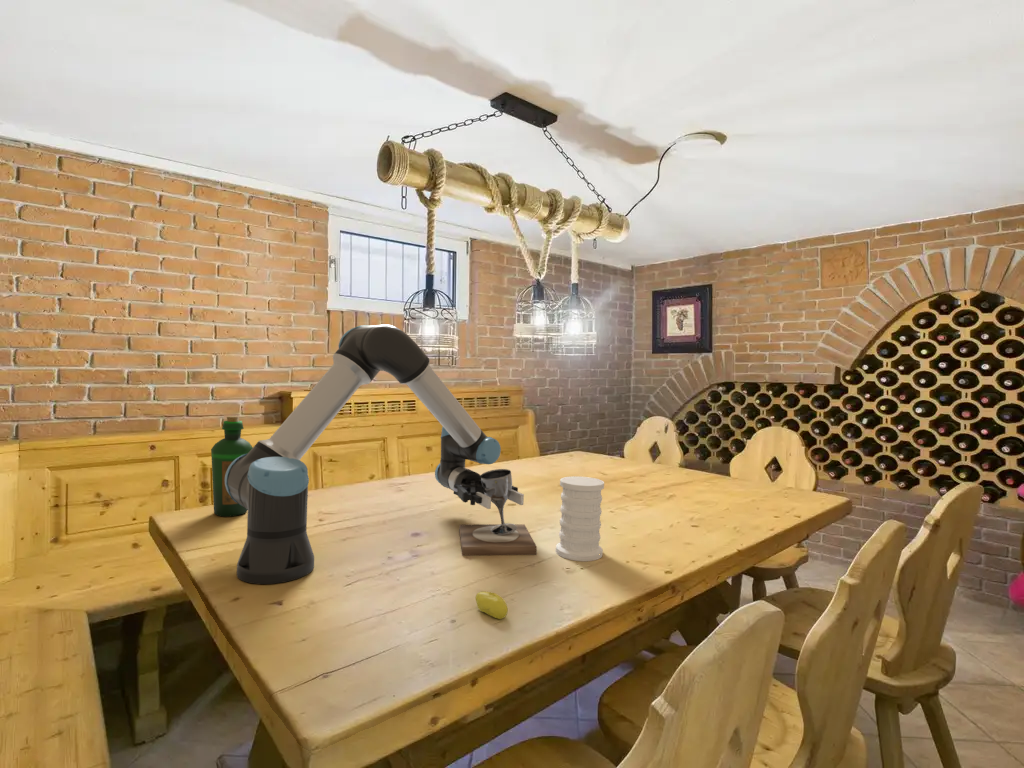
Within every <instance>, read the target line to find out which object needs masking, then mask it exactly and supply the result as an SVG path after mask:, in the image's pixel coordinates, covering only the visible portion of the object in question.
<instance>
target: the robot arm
mask: <svg viewBox="0 0 1024 768" xmlns="http://www.w3.org/2000/svg"><path fill="white" fill-rule="evenodd" d="M332 361H333V364H332V365H331V367H330V368H329V369H328V370H327V371H326V372H325V374H323V376H322V377H321V378H320V380H319V381H317V383H315V385H314V386H313V387H312V388H311V390H310V391H309V392H308V394H306V395H305V397H304V398H303V399H302V400H301V402H300V403H298V405H297V406H296V407H295V408H294V410H293V411H292V412H291V413H290V414H289V415H288V417H287V418H286V419H285V420H284V421H283V422H282V424H281V425H280V426H279V427H278V428H277V430H275V432H274V433H273V434H272V435H271V436H270V437H269V438H267V439H262V440H258V441H257V442H256V443H255V444H254V446H252V447H253V448H252V449H251V450H250V452H249V453H247V454H244V455H242V456H240V457H238V458H236V459H235V460H234V461H233V462H232V463H231V464H230V466H229V467H228V469H227V471H226V474H225V487H226V490H227V492H228V493H229V495H230V496H231V498H232V499H233V500H234V501H235V502H237V503H238V504H240V505H242V506H243V507H245V508H246V509H248V510H247V517H246V518H247V523H246V526H247V528H246V539H245V541H244V544H243V548H242V550H241V553H240V556H239V557H238V560H237V564H236V577H237V579H239V580H240V581H243V582H246V583H248V584H249V583H250V584H255V585H256V584H258V585H269V584H280V583H286V582H290V581H294V580H297V579H300V578H303V577H304V576H306V575H309V574H310V573H311V572H312V571H314V568H315V555H314V552H313V549H312V548H313V547H312V545H311V542H310V539H309V536H308V532H307V529H308V528H307V524H308V523H307V522H308V521H307V520H308V499H309V498H308V497H309V496H308V494H309V482H310V479H309V475H308V474H309V472H308V467H307V464H305V463H304V462H303V461H301V459H302V458H303V456H304V455H305V454H306V453H307V452H308V451H309V449H310V448H311V447H312V445H314V443H315V442H316V440H317V439H319V437H320V435H321V434H323V432H324V431H325V429H326V428H327V427H328V426H329V425H330V423H331V422H332V421H333V420H334V419H335V417H336V416H337V415H338V414H339V412H340V411H341V410H342V409H343V407H344V406H345V405H346V403H347V402H349V400H350V399H351V398H352V396H353V395H354V394H355V392H356V391H357V390H358V389H359V388H360V387H361V386H363V385H369V384H371V383H372V381H373V380H374V379H375V378H376V376H377V375H378V374H379V372H380V371H383V372H385V373H388V374H389V375H391V376H393V377H394V379H396V381H397V382H399V384H401V385H406V386H407V387H408V388H409V389H410V391H411V392H412V393H413V395H415V396H416V397H417V398H418V400H419V402H421V403H422V404H423V405H424V407H426V409H427V410H428V412H430V413H431V415H433V417H434V418H435V419H436V420H437V421H438V423H439V424H440V425H441V426H442V427H441V436H440V463H438V465H437V466H436V468H435V470H434V476H435V477H434V478H435V479H436V481H437V483H439V484H440V485H441V486H442V487H444V488H446V489H449V490H451V491H453V494H454V495H455V496H457V497H458V498H459V499H460V500H461V501H462V503H468V502H469V501H470V506H475V505H476V504H478V505H479V506H481V507H483V508H486V509H487V510H490V509H492V502H491V498H490V497H488V496H486V495H485V493H484V491H483V487H482V483H481V474H480V473H478V472H476V471H474V470H471V469H470V468H467V467H466V460H467V461H471V462H475V463H478V464H482V465H483V464H484V465H492V464H494V463H496V462H497V461H498V460H499V458H500V456H501V451H502V449H501V447H502V446H501V444H500V442H499V441H498V440H497V439H496V438H494V437H491V436H487V435H486V434H485V433H484V431H483V430H482V429H481V428H480V427H479V425H478V424H477V423H476V421H475V420H474V419H473V418H472V416H471V415H470V414H469V412H467V409H465V408H464V406H463V405H462V404H461V403H460V402H459V401H458V399H457V398H456V397H455V395H454V394H453V393H452V392H451V390H450V389H449V388H448V387H447V385H446V384H445V382H443V381H442V379H441V378H440V377H439V375H438V374H437V373H436V372H435V371H434V369H433V368H432V367H431V366H430V364H431V360H430V358H429V357H428V355H427V354H426V353H425V352H424V351H423V349H422V348H421V347H420V346H419V345H418V343H417V342H416V341H414V340H413V338H412V337H411V336H409V334H407V333H406V332H405V331H404V330H402V329H400V328H399V327H396V326H394V325H391V324H376V325H375V324H374V325H372V324H371V325H370V324H369V325H367V324H364V325H359V326H356V327H353V328H350V329H349V330H347V331H346V332H344V333H343V334H342V336H341V337H340V339H339V342H338V349H337V350H336V351H335V353H334V354H333V355H332ZM524 497H525V494H524V493H521V492H520V491H519V487H517V486H514V485H512V491H511V494H510V496H509V498H508V499H507V500H509V501H511V502H512V503H515V504H517V505H519V506H524Z"/></svg>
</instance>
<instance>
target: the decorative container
mask: <svg viewBox="0 0 1024 768" xmlns="http://www.w3.org/2000/svg"><path fill="white" fill-rule="evenodd" d="M559 486H560V487H561V488H562V491H561V494H560V499H561V501H562V502H561V505H560V508H559V509H560V513H561V517H560V519H559V525H560V530H559V532H558V533H559V535H558V536H559V539H560V542H558V543H557V544H555V553H556V554H557V555H558V556H559V557H560V558H563V559H566V560H570V561H576V562H592V561H597V560H599V559H601V558H602V557H603V552H604V551H603V548H602V546H600V545H599V544H600V541H601V534H600V529H601V526H602V523H601V516H602V507H601V503H602V501H603V497H602V490H604V489H605V481H603V480H601V479H599V478H597V477H596V478H595V477H588V476H573V475H572V476H565V477H561V478H560V479H559ZM599 554H600V555H599Z"/></svg>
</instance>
